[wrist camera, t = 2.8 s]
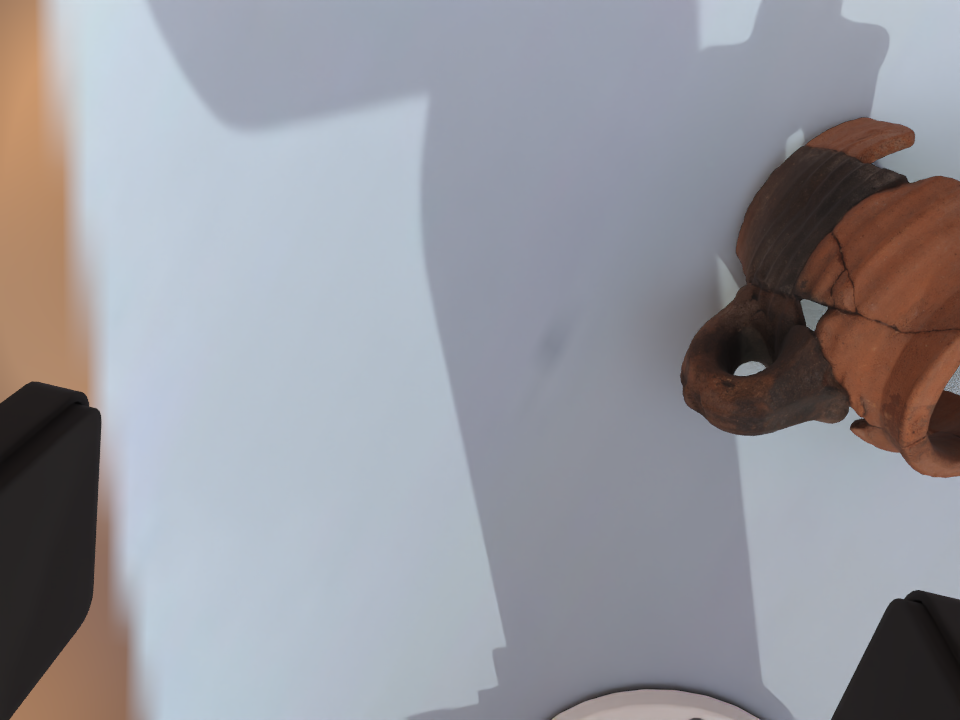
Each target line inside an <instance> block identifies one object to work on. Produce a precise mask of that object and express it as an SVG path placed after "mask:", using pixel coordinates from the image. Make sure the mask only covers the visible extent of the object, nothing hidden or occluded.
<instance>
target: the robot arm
mask: <svg viewBox="0 0 960 720" xmlns="http://www.w3.org/2000/svg"><path fill="white" fill-rule="evenodd" d="M100 440H101V415H100V411H99V410H98V409H96V408H92V407H89V402H88V399H87V396H86V395H85V394H84V393H83V392H79V391H74V390H70V389H66V388H62V387H57V386H53V385H49V384H45V383H41V382H30V383H28V384H26V385H25V386H23V387H22V388H21V389H19V390H18V391H17V392H15V393H14V394H12V395H11V396H10V397H8V398H7V399H6V400H4V401H3V402H2V403H0V720H9V719H10V718H11V717H12V715H13V714H14V713H15V711H16V710H17V709H18V707H19V706H20V705H21V704H22V702H23V701H24V699H25V698H26V697H27V696H28V694H29V693H30V692H31V690H32V689H33V688H34V686H35V685H36V684H37V683H38V681H39V680H40V679H41V677H42V676H43V674H44V673H45V672H46V671H47V669H48V668H49V667H50V665H51V664H52V663H53V662H54V660H55V659H56V658H57V656H58V655H59V653H60V652H61V651H62V650H63V648H64V647H65V646H66V644H67V643H68V642H69V641H70V639H71V638H72V637H73V635H74V634H75V633H76V631H77V630H78V629H79V627H80V626H81V624H82V623H83V621H84V619H85V617H86V615H87V613H88V611H89V608H90V605H91V601H92V596H93V585H94V564H95V544H96V523H97V502H98V481H99V461H100ZM552 720H760V719H758V718H757V717H755V716H753V715H751V714H749V713H748V712H746V711H744V710H742V709H740V708H739V707H737V706H734V705H731V704H729V703H726V702H723V701H720V700H717V699H714V698H712V697H709V696H705V695H700V694H694V693H689V692H683V691H678V690H654V689H642V690H634V691H626V692H618V693H612V694H609V695H605V696H602V697H598V698H595V699H591V700H588V701H585V702H583V703H580V704H578V705H576V706H574V707H572V708H570V709H568V710H566V711H564V712H562V713H560V714H558V715H557V716H556V717H554V718H553V719H552ZM831 720H960V600H959V599H954V598H950V597H946V596H942V595H937V594H933V593H929V592H925V591H920V590H916V591H912V592H911V593H910V594H908V595H907V596H906V597H905V599H900V598H898V599H894V600H893V601H892V602H891V603H890V604H889V606H888V607H887V609H886V611H885V613H884V615H883V617H882V619H881V621H880V623H879V625H878V627H877V629H876V631H875V633H874V635H873V637H872V639H871V641H870V643H869V645H868V647H867V649H866V651H865V653H864V655H863V657H862V659H861V661H860V663H859V665H858V667H857V669H856V671H855V673H854V675H853V677H852V679H851V681H850V683H849V685H848V687H847V689H846V691H845V693H844V695H843V697H842V699H841V701H840V703H839V705H838V707H837V709H836V711H835V713H834V715H833V717H832V719H831Z"/></svg>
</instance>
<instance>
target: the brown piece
mask: <svg viewBox="0 0 960 720" xmlns="http://www.w3.org/2000/svg"><path fill="white" fill-rule="evenodd" d="M914 141H915V134H914V132H913V131H912V130H911V129H910V128H908V127H906V126H903V125H900V124H893V123H888V122H884V121H876V120H874V119H871V118H859V119H855V120H851V121H847V122H844V123H842V124H840V125H837V126H835V127H833V128H831V129H829V130H827V131H825V132H823V133H822V134H820V135H819V136H817V137H816V138H814V139H812V140H811V141H809V142H808V143H807V144H806V145H805V146H803V147H801V148H799V149H798V150H796V151H795V152H794V153H793V154H792V155H791V156H790V157H789V158H788V159H787V160H786V161H785V162H784V163H783V164H782V165H780V166H779V167H778V168H777V169H775V170H774V171H773V173H772V174H771V175H770V177H769V178H768V180H767V181H766V182H765V184H764V185H763V186H762V188H761V189H760V190H759V191H758V192H757V194H756V195H755V197H754V199H753V201H752V202H751V204H750V205H749V207H748V209H747V212H746V214H745V217H744V222H743V224H742V226H741V230H740V232H739V237H738V241H737V246H736V254H737V256H738V258H739V259H740V262H741V263H742V267H743V272H744V274H745V276H746V282H747V285H746V286H744V287H742V288H740V289H739V291H738V292H737V294H736V297H735V298H734V300H733V301H732V302H731V303H730V304H729V305H727V306H726V307H725V308H724V309H723V310H721V311H720V312H719V313H718V314H716V315H715V316H714V317H713V318H711V319H710V320H709V321H707V322H706V323H705V325H704V326H703V327H702V328H701V329H700V330H699V331H698V332H697V334H696V335H695V336H694V338H693V340H692V342H691V344H690V346H689V349H688V351H687V353H686V355H685V357H684V361H683V363H682V367H681V374H680V378H681V383H682V385H683V396H684V400H685V403H686V404H687V406H689V407H690V408H691V409H693V410H695V411H697V412H698V413H700V414H701V415H703V416H704V417H705V418H706V419H707V420H708V421H709V422H710V423H711V424H712V425H714V426H716V427H717V428H719V429H721V430H723V431H725V432H729V433H732V434H736V435H744V436H756V435H762V434H768V433H772V432H775V431H777V430H781V429H784V428H787V427H790V426H793V425H796V424H800V423H803V422H807V421H811V420H816V421H820V422H825V423H831V424H833V423H837V422H840V421H841V420H843V419H844V418H845V417H846V415H847V414H848V412H849V407H852V408H853V409H854V410H855V411H856V413H857V414H858V415H859V416H860V417H863V418H864V419H859V420H855V421H854V422H853V423H852V424H851V426H850V430H851V431H852V432H853V433H854V434H855V435H856V436H858V437H860V438H861V439H862V440H864V441H866V442H867V443H870V444H872V445H874V446H875V447H877V448H880V449H883V450H886V451H891V452H897V453H901V455H902V457H903V458H904V459H905V460H906V462H907V463H908V464H909V465H910V466H911V467H912V468H913V469H914V470H916V471H918V472H919V473H921V474H923V475H929V476H932V477H942V478H947V477H954V476H960V395H957V394H954V393H952V392H949V391H945V390H943V389H944V388H945V386H946V384H947V383H948V381H949V380H950V378H951V377H952V375H953V374H954V373H955V371H956V370H957V368H958V367H959V365H960V182H959V181H957V180H955V179H953V178H947V177H943V176H934V177H930V178H927V179H923V180H919V181H917V182H914V183H909V182H908V180H907V178H906V176H904V175H901V174H898V173H896V172H894V171H891V170H888V169H885V168H882V169H881V168H879V167H876V166H875V165H872V164H871V163H873V162H874V161H876V160H877V159H880V158H883V157H885V156H886V155H889V154H892V153H894V152H897V151H900V150H902V149H905V148H909V147H911V146H912V145H913V144H914ZM802 299H808V300H811V301H814V302H816V303H819V304H821V305H823V306H827V307H828V310H827V311H826V313H825V314H824V315H823V316H822V317H821V318H820V320H819V321H818V323H817V326H816V330H815V331H812V330H811V329H810V328H808V327H806V322H805V318H804V315H803V311H802V307H801V303H800V301H801V300H802ZM750 361H756V362H760V363H762V364H763V365H764V366H765V367H766V369H764V370H762V371H761V372H758V373H756V374H753V375H749V376H736V375H734V372H735V370H736V369H737V368H738V367H739V366H740V365H741V364H743V363H747V362H750Z"/></svg>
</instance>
